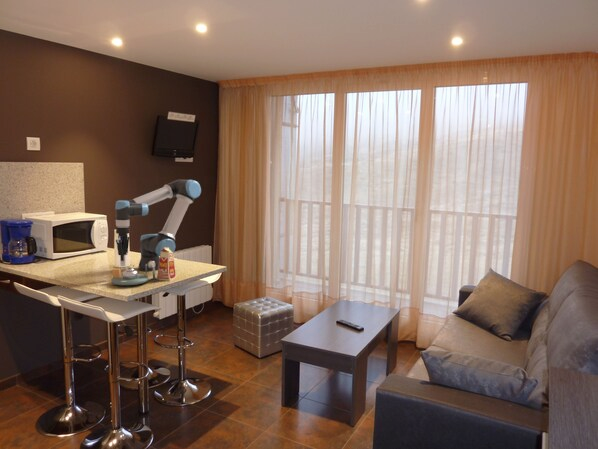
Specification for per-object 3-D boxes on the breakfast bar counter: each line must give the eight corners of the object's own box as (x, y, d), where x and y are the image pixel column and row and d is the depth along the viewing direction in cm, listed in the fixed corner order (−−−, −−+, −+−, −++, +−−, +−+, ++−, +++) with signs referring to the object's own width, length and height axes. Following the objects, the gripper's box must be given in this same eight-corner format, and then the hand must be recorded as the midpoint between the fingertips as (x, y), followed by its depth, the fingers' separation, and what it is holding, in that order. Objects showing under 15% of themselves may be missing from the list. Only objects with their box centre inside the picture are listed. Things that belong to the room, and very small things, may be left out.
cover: (127, 276, 270) (126, 266, 269) (140, 276, 269) (139, 267, 268) (120, 279, 262) (120, 269, 261) (133, 280, 261) (133, 270, 261)
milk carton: (170, 280, 274) (169, 247, 271) (155, 279, 276) (155, 247, 273) (177, 277, 283) (176, 245, 280) (163, 276, 285) (162, 244, 282)
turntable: (121, 275, 276) (121, 265, 275) (153, 277, 275) (153, 266, 274) (104, 284, 257) (104, 272, 256) (139, 285, 255) (139, 274, 254)
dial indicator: (149, 279, 275) (149, 259, 273) (158, 280, 275) (158, 260, 273) (145, 281, 270) (145, 261, 268) (155, 282, 269) (154, 262, 268)
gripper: (121, 225, 278) (122, 263, 281) (111, 227, 265) (111, 267, 268) (133, 225, 277) (134, 263, 280) (123, 228, 264) (124, 268, 267)
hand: (123, 265), depth 274 cm, fingers closed
